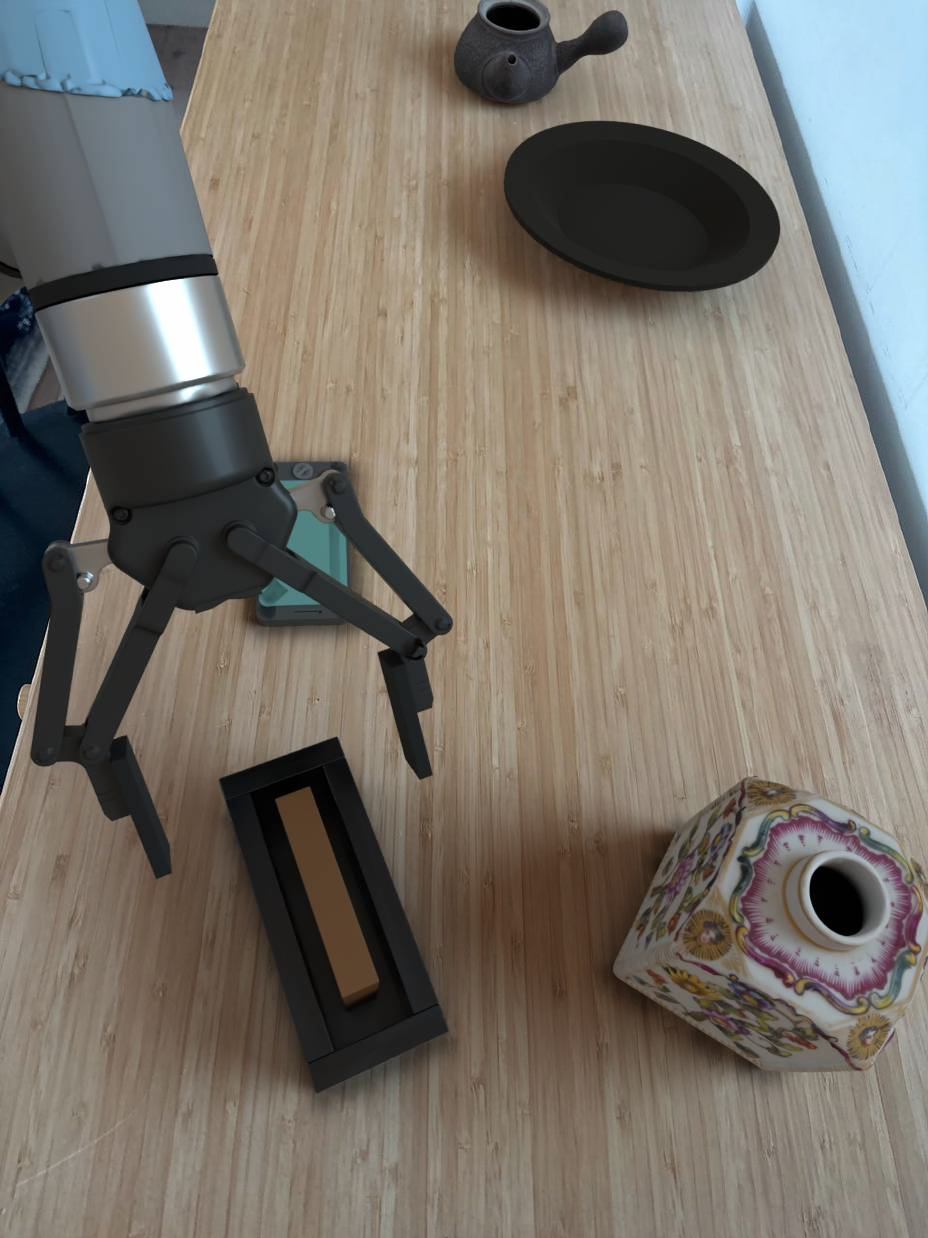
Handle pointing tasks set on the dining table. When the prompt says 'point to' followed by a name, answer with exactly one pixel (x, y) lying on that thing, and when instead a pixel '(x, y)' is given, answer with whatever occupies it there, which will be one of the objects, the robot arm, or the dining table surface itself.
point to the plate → (641, 206)
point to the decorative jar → (783, 929)
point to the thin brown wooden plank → (329, 899)
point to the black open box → (309, 983)
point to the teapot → (526, 49)
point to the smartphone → (306, 557)
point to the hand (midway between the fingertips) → (296, 813)
